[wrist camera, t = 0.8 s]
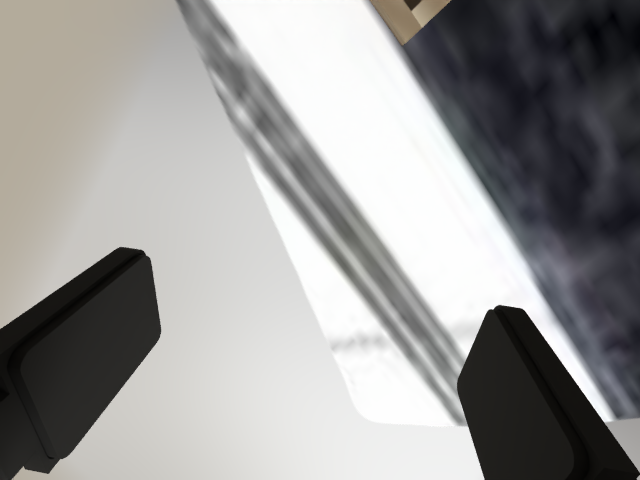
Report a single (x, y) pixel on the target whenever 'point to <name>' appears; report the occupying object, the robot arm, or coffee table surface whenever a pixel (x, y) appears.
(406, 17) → the wooden compartment tray
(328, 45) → the coffee table surface
